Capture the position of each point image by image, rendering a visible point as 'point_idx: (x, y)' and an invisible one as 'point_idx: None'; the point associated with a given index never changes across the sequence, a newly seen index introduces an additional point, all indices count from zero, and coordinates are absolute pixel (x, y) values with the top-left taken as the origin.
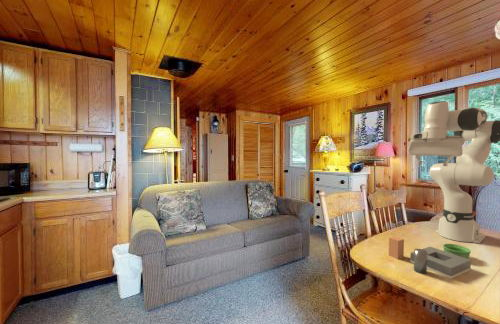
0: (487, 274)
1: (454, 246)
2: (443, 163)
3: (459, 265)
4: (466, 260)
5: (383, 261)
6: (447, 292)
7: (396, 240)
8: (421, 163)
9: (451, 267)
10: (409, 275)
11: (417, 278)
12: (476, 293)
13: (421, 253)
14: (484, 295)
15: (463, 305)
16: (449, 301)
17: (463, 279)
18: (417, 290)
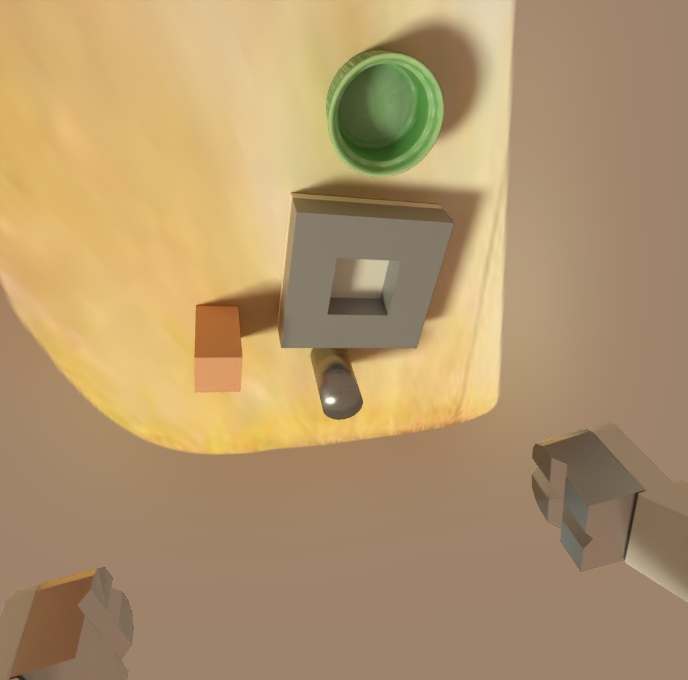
0: (485, 189)
1: (366, 67)
2: (566, 539)
3: (429, 300)
4: (442, 242)
5: None
6: (414, 394)
7: (232, 391)
8: (131, 643)
9: (416, 343)
10: None
11: None
12: (466, 344)
13: (350, 414)
14: (481, 338)
15: (449, 412)
16: (425, 421)
17: None
18: (365, 438)
